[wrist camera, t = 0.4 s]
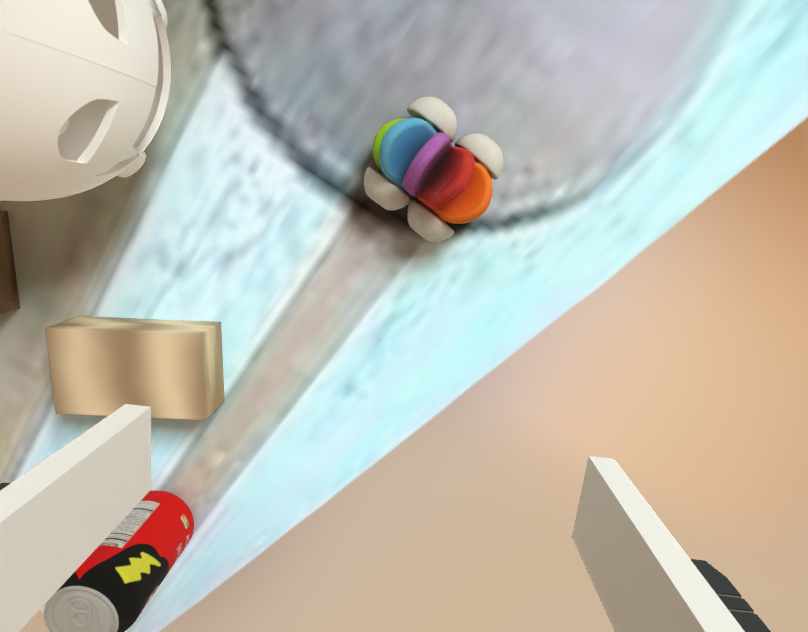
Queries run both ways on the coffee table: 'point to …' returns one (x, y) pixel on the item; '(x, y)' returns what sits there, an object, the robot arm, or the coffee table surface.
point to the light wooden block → (136, 366)
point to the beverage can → (123, 568)
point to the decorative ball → (78, 92)
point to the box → (7, 268)
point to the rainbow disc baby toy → (432, 169)
